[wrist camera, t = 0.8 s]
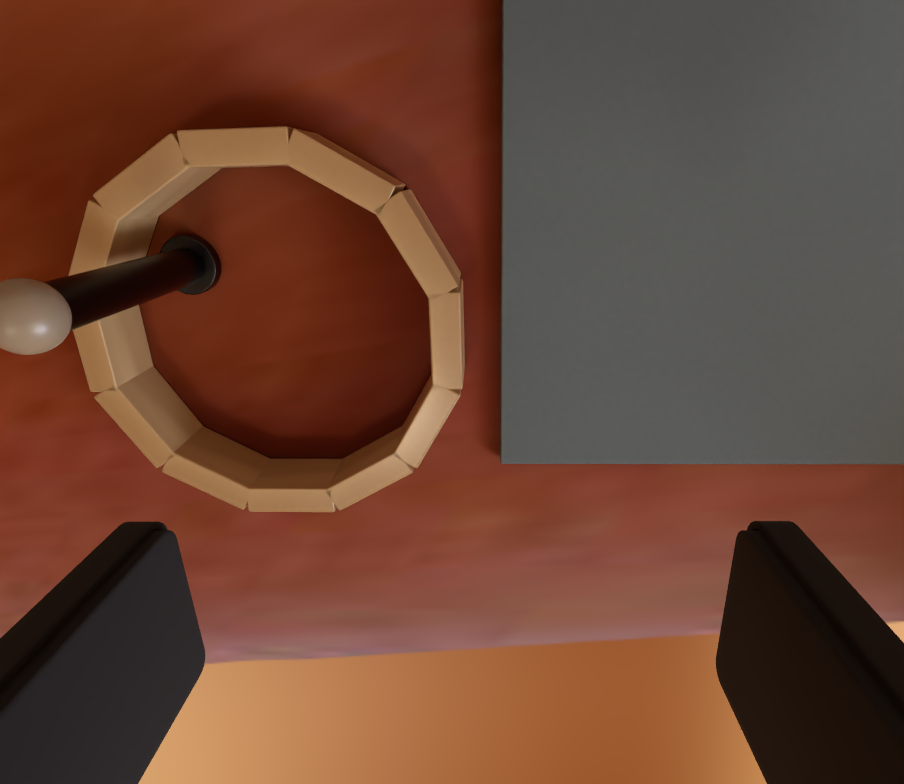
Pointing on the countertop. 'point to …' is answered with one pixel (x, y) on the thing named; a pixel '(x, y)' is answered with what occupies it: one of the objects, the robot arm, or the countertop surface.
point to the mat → (702, 232)
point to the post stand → (100, 293)
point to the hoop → (158, 406)
